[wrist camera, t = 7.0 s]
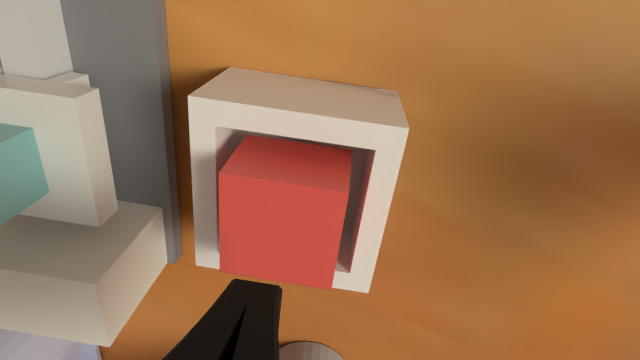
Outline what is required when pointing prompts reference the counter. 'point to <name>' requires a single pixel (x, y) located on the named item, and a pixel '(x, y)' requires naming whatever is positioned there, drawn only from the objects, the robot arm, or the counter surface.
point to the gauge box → (305, 127)
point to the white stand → (126, 161)
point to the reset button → (283, 210)
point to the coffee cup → (308, 352)
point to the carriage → (54, 150)
